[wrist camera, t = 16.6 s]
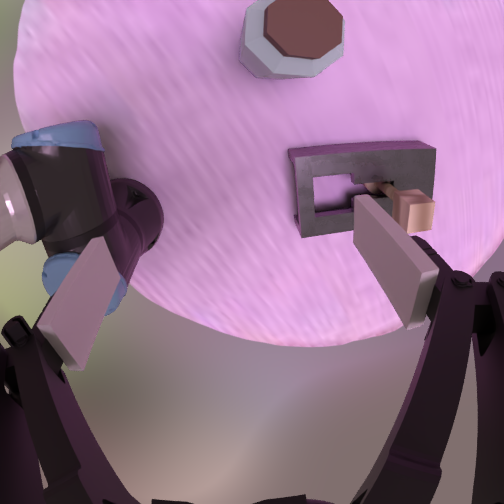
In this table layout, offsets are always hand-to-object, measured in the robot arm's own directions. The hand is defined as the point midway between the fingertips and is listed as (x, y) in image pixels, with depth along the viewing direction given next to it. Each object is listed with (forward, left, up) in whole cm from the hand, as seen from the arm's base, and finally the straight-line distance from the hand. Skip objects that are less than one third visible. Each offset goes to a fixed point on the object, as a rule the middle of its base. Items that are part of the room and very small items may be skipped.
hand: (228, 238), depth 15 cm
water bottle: (+8, +12, -37) cm, 40 cm away
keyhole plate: (+22, -12, -37) cm, 44 cm away
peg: (+25, -12, -37) cm, 46 cm away
